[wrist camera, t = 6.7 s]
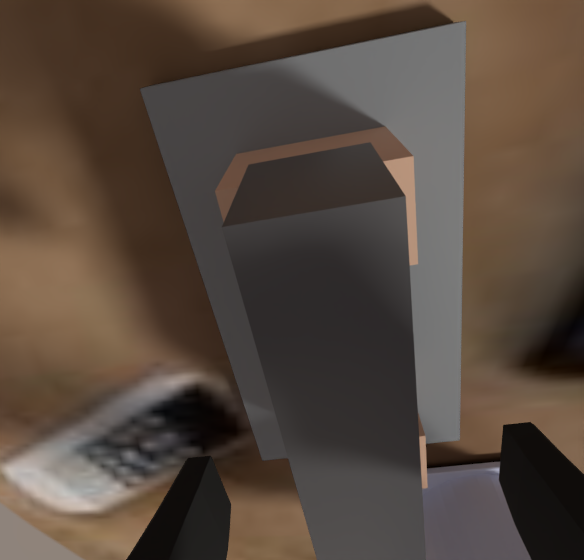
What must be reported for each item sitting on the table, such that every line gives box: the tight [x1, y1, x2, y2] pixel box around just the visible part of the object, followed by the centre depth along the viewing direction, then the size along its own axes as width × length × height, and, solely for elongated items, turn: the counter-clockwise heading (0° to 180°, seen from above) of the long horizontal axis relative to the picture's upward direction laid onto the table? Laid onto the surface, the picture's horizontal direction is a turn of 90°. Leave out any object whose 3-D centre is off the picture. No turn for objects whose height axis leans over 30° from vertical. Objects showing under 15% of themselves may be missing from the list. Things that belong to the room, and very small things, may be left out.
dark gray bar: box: [222, 142, 426, 560], centre depth 12 cm, size 14×3×4 cm, turn 11°
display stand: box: [140, 21, 466, 489], centre depth 16 cm, size 18×10×5 cm, turn 10°
